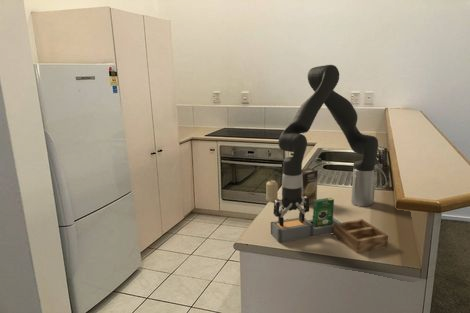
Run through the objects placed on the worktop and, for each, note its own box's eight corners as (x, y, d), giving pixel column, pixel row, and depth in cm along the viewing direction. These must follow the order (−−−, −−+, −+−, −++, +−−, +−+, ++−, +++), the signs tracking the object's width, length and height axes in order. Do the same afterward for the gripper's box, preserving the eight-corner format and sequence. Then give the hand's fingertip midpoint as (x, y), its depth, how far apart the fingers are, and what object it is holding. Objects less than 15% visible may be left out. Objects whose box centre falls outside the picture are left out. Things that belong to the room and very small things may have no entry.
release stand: (331, 222, 150) (331, 211, 149) (342, 231, 142) (343, 219, 141) (270, 233, 142) (270, 221, 141) (279, 243, 134) (279, 231, 133)
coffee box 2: (329, 226, 147) (330, 196, 143) (333, 229, 144) (334, 199, 141) (312, 229, 144) (312, 199, 141) (315, 232, 142) (316, 202, 138)
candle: (266, 197, 181) (266, 178, 178) (277, 197, 180) (277, 179, 177) (266, 201, 175) (266, 182, 173) (277, 201, 175) (277, 182, 172)
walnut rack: (361, 229, 143) (362, 219, 142) (387, 246, 129) (388, 235, 128) (333, 234, 139) (333, 224, 138) (356, 253, 126) (357, 241, 124)
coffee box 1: (303, 206, 168) (304, 174, 164) (294, 202, 173) (294, 170, 169) (317, 201, 173) (318, 170, 169) (307, 198, 178) (308, 167, 174)
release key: (301, 229, 144) (301, 219, 143) (306, 234, 139) (307, 223, 138) (276, 233, 141) (276, 223, 140) (281, 238, 136) (281, 228, 135)
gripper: (304, 179, 140) (303, 217, 144) (270, 183, 136) (270, 222, 140) (313, 185, 133) (312, 224, 137) (278, 190, 129) (278, 230, 133)
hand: (291, 223), depth 139 cm, fingers open, 8 cm apart
